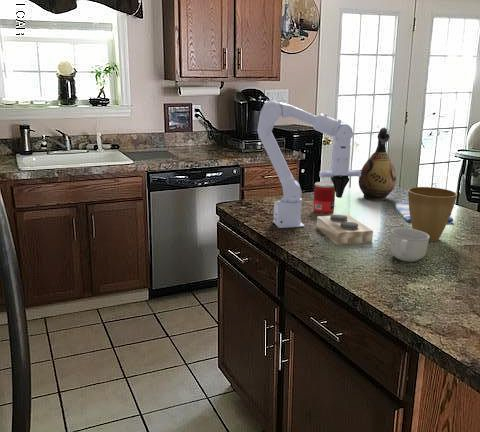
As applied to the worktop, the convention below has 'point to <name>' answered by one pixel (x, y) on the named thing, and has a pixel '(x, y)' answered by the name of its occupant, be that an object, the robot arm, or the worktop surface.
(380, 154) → the ceramic jug
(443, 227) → the plant pot
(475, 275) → the worktop surface
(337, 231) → the knob mount
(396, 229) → the teacup
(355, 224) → the knob front
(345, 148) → the robot arm
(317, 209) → the canned food
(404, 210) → the dish towel
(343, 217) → the knob rear
